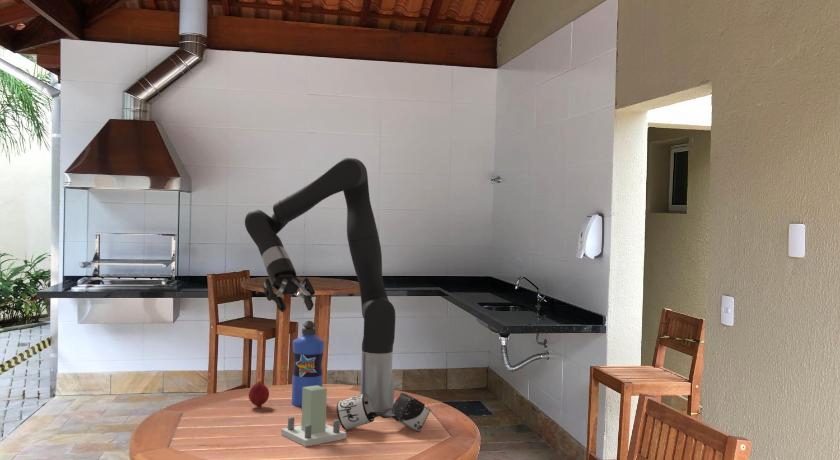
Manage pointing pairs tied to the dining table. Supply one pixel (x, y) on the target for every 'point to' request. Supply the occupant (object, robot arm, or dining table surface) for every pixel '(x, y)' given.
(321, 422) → the block
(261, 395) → the onion
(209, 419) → the dining table surface
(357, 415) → the lettered night shade jar
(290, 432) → the peg stand
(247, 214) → the robot arm
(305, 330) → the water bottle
